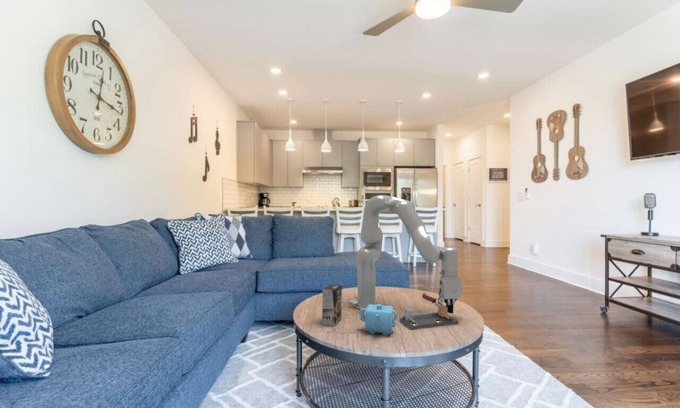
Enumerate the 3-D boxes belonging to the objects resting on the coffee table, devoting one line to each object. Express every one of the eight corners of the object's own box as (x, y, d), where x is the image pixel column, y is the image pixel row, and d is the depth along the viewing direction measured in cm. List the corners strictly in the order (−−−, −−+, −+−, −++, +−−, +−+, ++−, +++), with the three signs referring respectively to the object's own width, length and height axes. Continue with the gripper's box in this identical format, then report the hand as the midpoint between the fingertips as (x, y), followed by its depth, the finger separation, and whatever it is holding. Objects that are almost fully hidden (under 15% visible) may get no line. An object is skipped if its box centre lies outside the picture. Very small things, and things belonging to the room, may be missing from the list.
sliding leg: (445, 319, 141) (445, 309, 141) (438, 315, 147) (438, 305, 147) (451, 318, 142) (451, 309, 142) (443, 314, 148) (443, 305, 148)
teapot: (398, 325, 139) (398, 300, 139) (396, 342, 121) (396, 313, 121) (363, 322, 142) (363, 297, 142) (356, 338, 125) (356, 310, 125)
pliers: (430, 308, 164) (430, 303, 164) (421, 296, 184) (421, 292, 184) (452, 308, 163) (452, 303, 163) (441, 297, 183) (441, 292, 183)
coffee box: (335, 326, 137) (335, 290, 137) (321, 324, 139) (321, 288, 139) (342, 319, 146) (342, 285, 146) (329, 317, 148) (329, 283, 148)
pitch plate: (410, 329, 134) (410, 315, 134) (399, 321, 143) (399, 307, 143) (458, 323, 140) (458, 309, 141) (444, 316, 150) (444, 303, 150)
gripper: (440, 276, 141) (440, 316, 141) (468, 274, 145) (468, 313, 145) (431, 272, 148) (431, 311, 148) (457, 271, 153) (457, 308, 153)
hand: (449, 312), depth 147 cm, fingers closed
